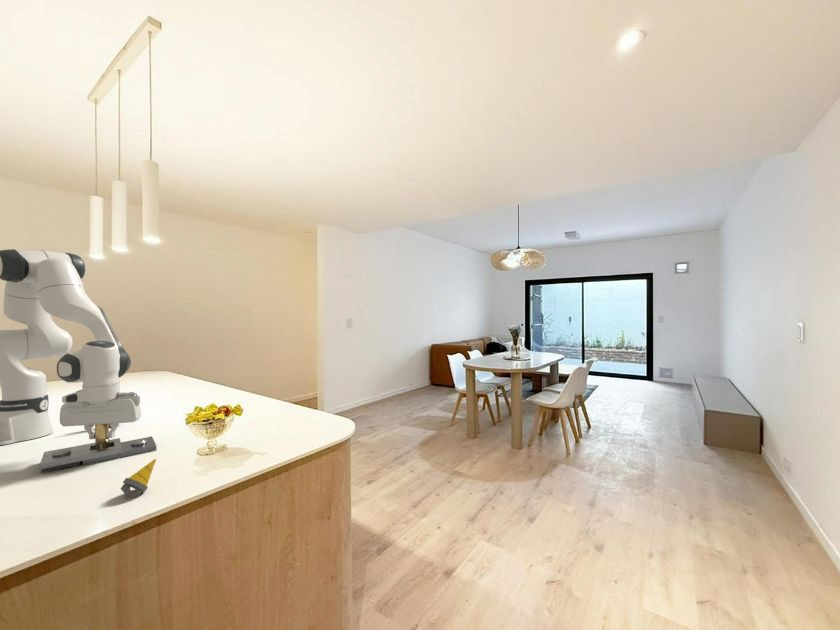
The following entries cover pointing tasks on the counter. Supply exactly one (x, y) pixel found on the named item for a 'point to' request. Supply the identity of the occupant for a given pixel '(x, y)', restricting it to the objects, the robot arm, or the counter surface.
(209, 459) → the counter surface
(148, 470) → the yellow pointed cone
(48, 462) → the gray mounting plate
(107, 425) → the brass pin
